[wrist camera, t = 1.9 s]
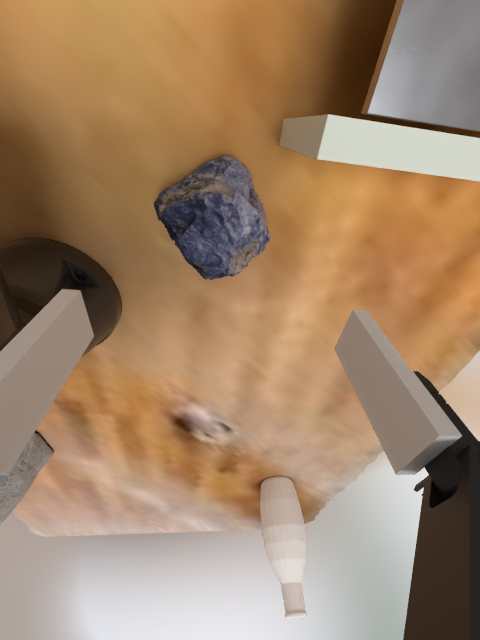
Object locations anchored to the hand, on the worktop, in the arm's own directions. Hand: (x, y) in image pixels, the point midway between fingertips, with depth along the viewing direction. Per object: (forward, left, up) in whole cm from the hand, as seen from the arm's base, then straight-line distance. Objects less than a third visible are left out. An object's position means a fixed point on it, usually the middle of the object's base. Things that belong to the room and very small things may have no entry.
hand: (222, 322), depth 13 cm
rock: (0, 0, -20) cm, 20 cm away
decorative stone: (-36, -50, -19) cm, 65 cm away
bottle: (+21, -72, -19) cm, 77 cm away
